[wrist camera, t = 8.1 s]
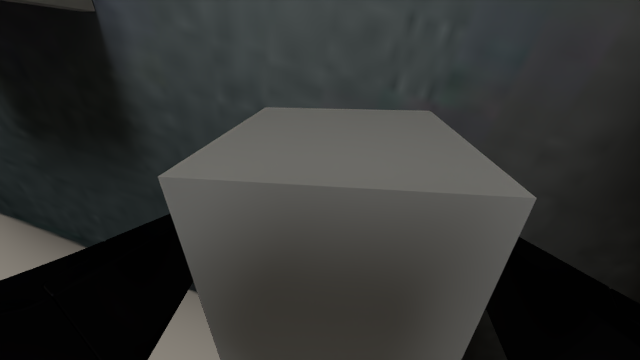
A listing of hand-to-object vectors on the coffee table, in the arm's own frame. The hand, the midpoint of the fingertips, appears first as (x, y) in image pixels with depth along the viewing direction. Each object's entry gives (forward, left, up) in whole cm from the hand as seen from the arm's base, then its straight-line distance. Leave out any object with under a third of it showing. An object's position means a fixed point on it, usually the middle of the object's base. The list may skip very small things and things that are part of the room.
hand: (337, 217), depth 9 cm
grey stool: (0, 0, -3) cm, 3 cm away
